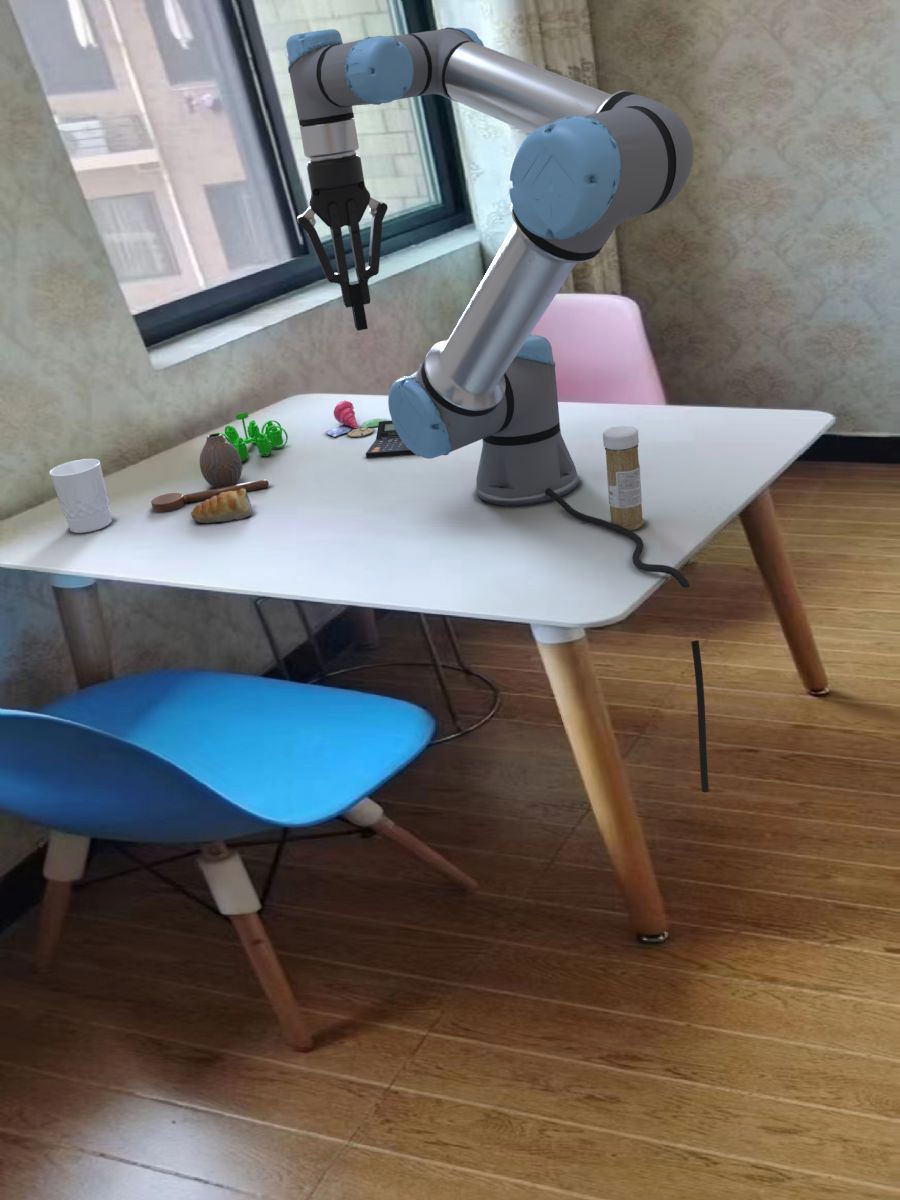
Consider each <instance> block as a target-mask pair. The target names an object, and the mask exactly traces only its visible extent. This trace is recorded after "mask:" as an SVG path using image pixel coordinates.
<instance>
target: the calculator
mask: <svg viewBox="0 0 900 1200" xmlns="http://www.w3.org/2000/svg"><path fill="white" fill-rule="evenodd" d="M413 455H414V456H415V454H414V453H413V452H412V451H411V450H409V449H408V448H407V446H406V445H405V444H404V443H403V441H402V440H401V439H400V437H399V435H398V434H397V432H396V430H395V427H394V425H393V423H392V420H386V421H381V422H379V424H378V426H377V429H376V437H375V440H374V442H373V443H372V444H371V446H370V447H369V448H368V450H367V451H366V452H365V457H366V459H371V458H372V459H374V458H385V457H386V458H387V457H399V456H413Z"/></svg>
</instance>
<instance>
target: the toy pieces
mask: <svg viewBox="0 0 900 1200" xmlns="http://www.w3.org/2000/svg"><path fill="white" fill-rule="evenodd" d="M354 409H355V407H354V404H353V403H352V402H351V401H349V400H341V401H340V402H337V404H336V405H335V406H334V409H333V418H334V420H336V421H337V422H338V423H339V424H343V425H344V426H340V427H339V426H338V427H333V428H332V429H330V430H328V431H327V432H326V434H327V435H329V436H332V437H334V438H336V437H339V436H342V435H345V434H347V436H348V437H349V438H361V437H365V436H367V435H371V434H372V433H373V432H374V430H373V429H372V428H376V427H377V428H378V424H379V422H381V421H387V420H386V419H384V418H375V419H374V418H373V419H371V420H368V421H365V423H364V424H363V425H360V428H358V424H357V418H356V412H355V410H354ZM352 428H353V429H352Z"/></svg>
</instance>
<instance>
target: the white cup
mask: <svg viewBox="0 0 900 1200" xmlns="http://www.w3.org/2000/svg"><path fill="white" fill-rule="evenodd" d="M48 474H49V477H50V479H51V483H52V486H53V488H54V492H55V494H56V497H57V500H58V503H59V505H60V508H61V510H62V513H63V515H64V517H65V519H66V522H67V526H68V528H69V531H70V532H72V533H74V534H85V533H90V532H91V533H92V532H95V531H98V530H101V529H103V528H106V527H107V526H109V525H110V524H111V523H112V522H113V518H112V514H111V509H110V502H109V495H108V492H107V485H106V483H105V478H104V473H103V470H102V465H101V461H100V460H99V459H97V458H82V459H81V458H80V459H75V460H71V461H67V462H64V463H61V464H59V465H56V466H54V467H53V468H51V469H50V470H49V472H48Z"/></svg>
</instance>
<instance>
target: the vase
mask: <svg viewBox="0 0 900 1200" xmlns="http://www.w3.org/2000/svg"><path fill="white" fill-rule="evenodd" d="M221 433H222V432H221ZM221 433H216V432H213V433H210V434H208V435H207V436H206V441H205V443H204V444H203V447H202V449H201V452H200V455H199V467H200V472H201V474H202V477H203V479H204V480H205V482H206V483H207V484H208V485H210V486H211V487H213V488H214V489H218V488H223V487H228V486H233V485H237V483H238V482H239V480H240V479H241V476H242V473H243V466H242V465H243V462H241V458H240V455H239V453H238V451H237V450H236V448H235V447H234V446H233V445H232V444H231V443H230V442H228V441H227V440H226V439H225V438H226V437H225V436H223V435H222V434H221Z"/></svg>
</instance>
